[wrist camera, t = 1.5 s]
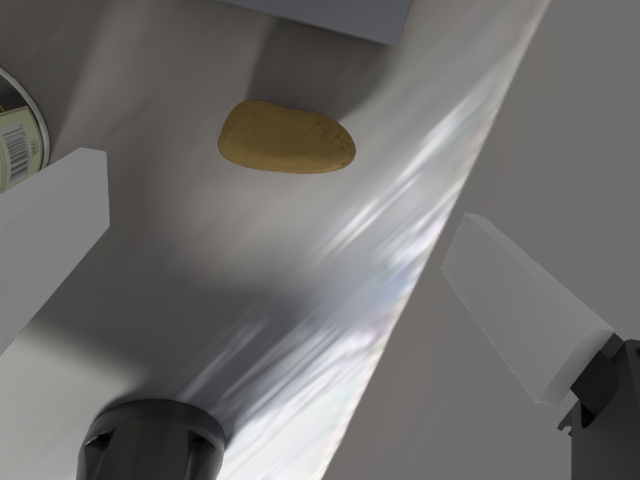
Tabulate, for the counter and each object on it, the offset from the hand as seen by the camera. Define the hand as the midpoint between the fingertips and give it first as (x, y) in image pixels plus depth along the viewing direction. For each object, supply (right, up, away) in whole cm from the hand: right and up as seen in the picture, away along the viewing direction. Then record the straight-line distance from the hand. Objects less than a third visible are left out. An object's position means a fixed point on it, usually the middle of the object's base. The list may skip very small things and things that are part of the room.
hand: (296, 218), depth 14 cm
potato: (-2, +8, +14) cm, 16 cm away
